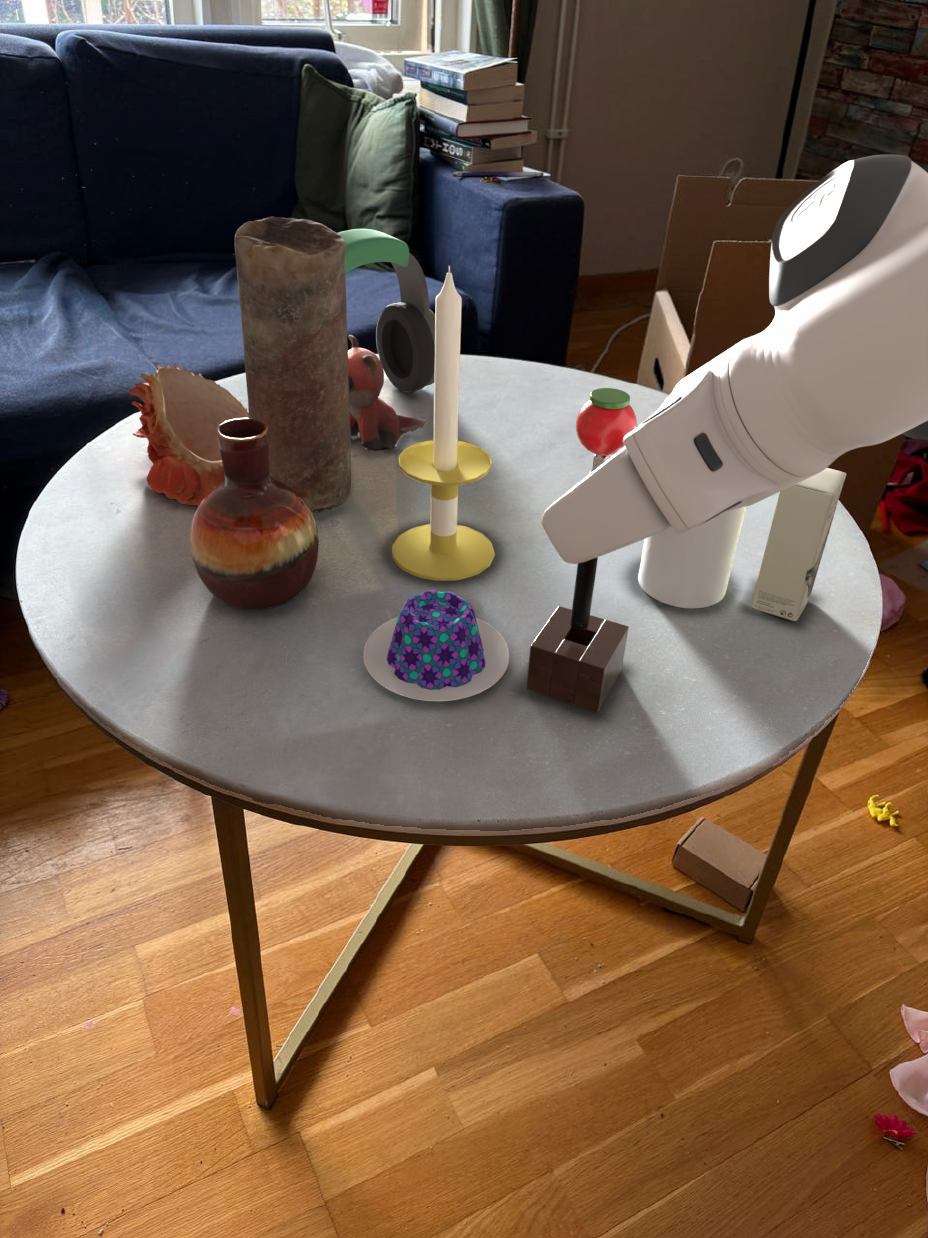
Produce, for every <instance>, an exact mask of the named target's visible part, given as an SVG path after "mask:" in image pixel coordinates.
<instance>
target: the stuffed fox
mask: <svg viewBox="0 0 928 1238" xmlns="http://www.w3.org/2000/svg"><path fill="white" fill-rule="evenodd" d="M347 338H348V339H349V341H350V343H351V348H350V349H348V380H349V404H350V434H351V437H358V436H360V440H361V444H360V445H361V447H362V448H364V449H366V450H367V451H368V452H378V451H387V450H393V449H396V448H397V446H398V443H399V441H400V440H401V438H402V437H403V436H405V435H407V434H408V433H414V432H416V431H417V430H420V429H423V428H424V427H425V425H426V423H427V421H428V419H421V418H417V417H412V416H406V415H401V414H397V412H396V410H395V409H394V408H393V407H392V406H391V405H390V404H388V403H386V402H385V401H384V400H383V399H382V398H380V395H381V392H382V390H383V387H384V384H385V371H384V369H383V367H382V364H381V362H380V358H379V356H378V354H376V353H375V352H372V351H371V350H369V349H366V348H363V347H360V346H359V345H360V343H359V341H358V339H357V338H356V336H354V335H352V334H349V335H347Z"/></svg>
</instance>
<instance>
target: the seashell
mask: <svg viewBox="0 0 928 1238" xmlns="http://www.w3.org/2000/svg"><path fill="white" fill-rule="evenodd" d="M140 377H141V378H142V379H143V380H144V381H145V382H138V383H135V387H132V388H129V389H128V390H127V391H128V394H130V395H133V396H136V397H137V398H139V399H140V401H141V402H143V403H144V405H143V404H141V403H140V402H138V401H136V400H133V401H132V402H131V403H130V404H131V405H133V406H134V407H136V408H138V410H139V411H140V413H141V415H140V417H139V421H140V424H141V426H140V428H138V429H137V430H136V432H132V436H134V437H136V438H140V439H147V441H148V446H146V447H147V449H146V453H147V454H148V455H147V457H148V459H149V460H150V461H151V463H152V466H151V467H150V470H149V471H148V473H147V476H146V482H147V486H149V487H150V488H151V489H152V491H153V492H156V493H157V494H164V495H165V497H166V498H168V499H171V500H176V501H177V502H179V504H180V505H188V506H189V505H190V506H199V505H200V503H201V501H202V500H203V499H204V498H205V497H206V496H207V494H208V493H209V492H210V491H212V490H213V489H214V488H215V487H217V486H218V485H220V484H221V483H223V482H225V474H224V468H223V462H222V457H221V453H220V448H219V444H218V439H217V433H216V430H217V428H218V426H219V425H220V424H222V423H224V422H226V421H229V420H233V419H239V418H249V411H248V407H247V408H246V407H245V406H244V405H243V403H242V401H240V400H238V399H237V397H235V396H234V395H233V394H232V393H231V392H230V391H229V390H227V388H225V387H223V386H221V385H220V384H219V383H218V384H217V382H216V381H214V380H212V379H208V378H205V377H204V376H202V374H201V373H200V372H199V373H198V374H194V372H193V371H189V370H188V368H187V366H183V370H182V369H181V368H179V366H178V364H177V362H174V363H173V367H171V366H170V365H169V364H166V365H165V366H160V365H159V364H157V367H156V372H155V374H153V373H151V374H148V373H147V374H146V373H140Z"/></svg>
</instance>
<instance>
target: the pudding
mask: <svg viewBox="0 0 928 1238" xmlns="http://www.w3.org/2000/svg"><path fill="white" fill-rule="evenodd" d="M398 613H399V614H398V616H395V617H393V618H391V619H388V620H386V621H385V622H384V623H382V624H380V625H379V626H378V627H377V628H376V629H374V630H373V631H372V632H371V634H370V635H369V636H368V638H367V639H366V642H365V644H364V646H363V651H362V656H363V663H364V666H365V668H366V671H367V672H368V674H369V675H370V676H371V677H372V679H374V681H376V682H377V683H378V684H379V685H380V686H382V687H383V688H385V689H387V690H388V691H390V692H392V693H394V694H397V695H399V696H402V697H406V698H410V699H412V700H419V701H425V702H449V701H457V700H462V699H467V698H469V697H472V696H475V695H478V694H480V693H483V692H485V691H486V690H488V689H490V688H491V687H492V686H494V685H495V684H497V682H499V681H500V680H501V678H502V677H504V675H505V673H506V671H507V669H508V667H509V664H510V659H511V658H510V657H511V656H510V649H509V646H508V643H507V640H505V638H504V636H503V634H501V633H500V632H499V631H498V630H497V628H495V627H493V626H492V625H491V624H489V623H488V622H486V621H484V620H483V619H481V618H478V617H476V614H475V613H476V612H475V610H474V607H473V605H472V604H471V602H469V601H468V600H467V599H465V598H462V597H460V596H459V594H457V593H455V592H453V591H447V590H445V591H439V590H436V589H435V590H426V591H423V592H422V593H421V594H415V595H412V596H410V597H408V598H407V600H406V601H405V602H404V604H403V606H402V607H401V609H400V611H399V612H398Z"/></svg>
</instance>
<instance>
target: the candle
mask: <svg viewBox="0 0 928 1238" xmlns="http://www.w3.org/2000/svg"><path fill="white" fill-rule="evenodd" d="M453 278H454V277H453V273H452V272H451V265H448V272H446V275H445V278H444V279H445V280H444V282H443V285H442V288H441V290H440V292H439V293H438V294H437V295H436V296H435V313H434V314H435V383H434V385H433V387H434V389H433V390H434V391H433V392H434V394H433V395H434V397H433V439H430V440H425V441H421V442H417V443H414V444H411V445H410V446H408V447H406V448H404V449H403V451H402V452H401V453H400V454H399V456H398V460H397V461H398V466H399V467H398V468H399V470H400V471H401V472H402V473H403V474H404V475H405V476H407V478H409V479H411V480H414V481H416V482H420V483H422V484H426V485H430V523H427V524H423V525H420V526H416V527H415V526H414V527H411V528H410V529H408V530H406V531H405V532H403V533H401V534H400V535H398V536H397V538H396V539H395V541H394V543H393V544H392V546H391V555H392V556H391V557H392V561H393V562H394V563H395V564H396V565H397V566H398V567H399V568H400V570H402V571H404V572H405V573H407V574H410V575H412V576H414V577H416V578H420V579H425V580H429V581H434V582H450V581H451V582H452V581H454V582H455V581H461V580H465V579H467V578H468V579H469V578H471V577H476V576H478V575H480V574H481V573H483V572H484V571H485V570H487V569H488V568H490V566H491V564H492V562H493V560H494V558H495V556H496V554H495V553H496V552H495V550H494V546H493V543H492V542H491V540H490V539H489V538H488V537H486V536H485V535H484V534H483V533H482V532H480V531H478V530H475V529H474V528H471V527H468V526H465V525H460V524H458V503H459V499H458V497H459V486H462V485H467V484H472V483H475V482H477V481H479V480H481V479H482V478H484V477H486V476H487V475H488V473H489V472H490V469H491V468H492V466H493V462H492V459H491V456H490V454H489V453H488V452H487V451H485V449H483V448H482V447H480V446H477V445H475V444H472V443H469V442H467V441H461V440H458V436H459V435H458V434H459V404H460V403H459V402H460V400H459V398H460V369H461V368H460V367H461V337H462V336H461V334H462V307H463V305H462V303H463V300H462V296H461V295H460V294H459V293H458V291H457V289H456V286H455V282H454V279H453Z"/></svg>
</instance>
